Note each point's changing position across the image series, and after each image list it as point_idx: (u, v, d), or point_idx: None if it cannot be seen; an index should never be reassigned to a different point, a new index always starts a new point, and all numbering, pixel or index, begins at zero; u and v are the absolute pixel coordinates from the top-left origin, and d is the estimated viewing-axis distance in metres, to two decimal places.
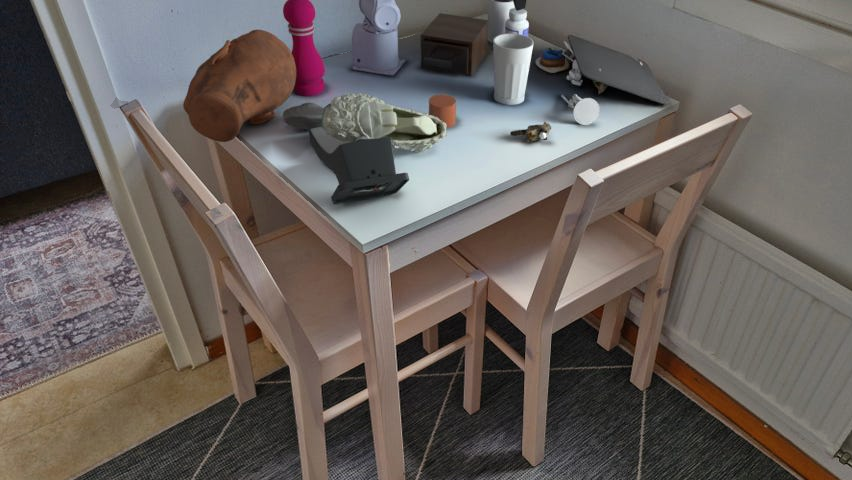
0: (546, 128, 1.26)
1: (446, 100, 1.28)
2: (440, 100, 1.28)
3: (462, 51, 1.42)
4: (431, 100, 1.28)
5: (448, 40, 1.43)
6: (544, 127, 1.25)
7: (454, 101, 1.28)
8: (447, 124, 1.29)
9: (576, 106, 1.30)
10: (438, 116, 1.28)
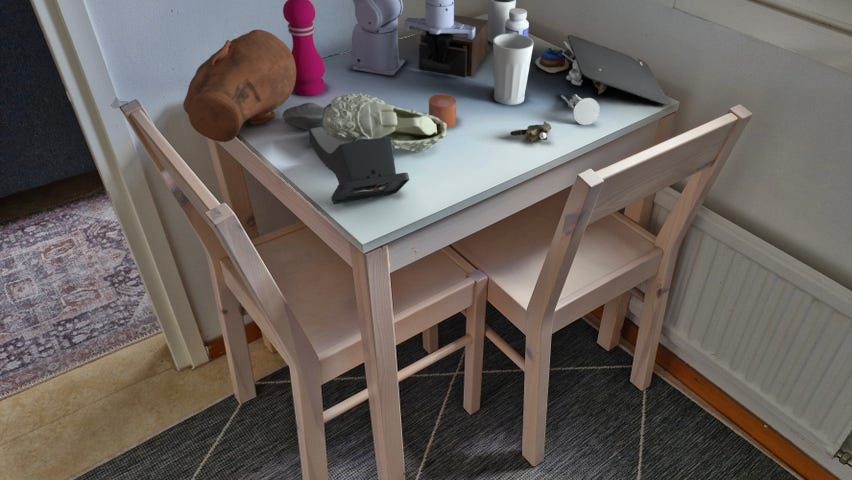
0: (546, 128, 1.26)
1: (446, 100, 1.28)
2: (440, 100, 1.28)
3: (460, 53, 1.41)
4: (431, 100, 1.28)
5: None
6: (544, 127, 1.25)
7: (454, 101, 1.28)
8: (447, 124, 1.29)
9: (576, 106, 1.30)
10: (438, 116, 1.28)
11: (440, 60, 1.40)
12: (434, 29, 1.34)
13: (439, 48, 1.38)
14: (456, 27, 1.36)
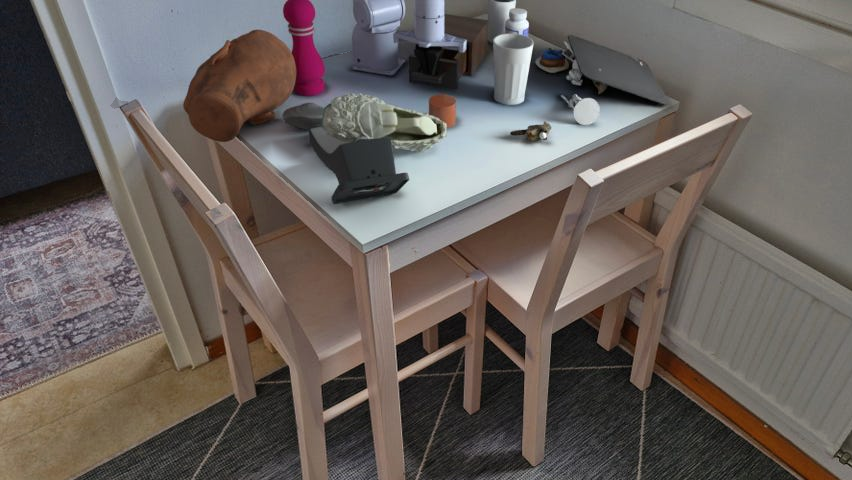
0: (546, 128, 1.26)
1: (446, 100, 1.28)
2: (440, 100, 1.28)
3: (451, 65, 1.37)
4: (431, 100, 1.28)
5: None
6: (544, 127, 1.25)
7: (454, 101, 1.28)
8: (447, 124, 1.29)
9: (576, 106, 1.30)
10: (438, 116, 1.28)
11: (430, 74, 1.35)
12: (424, 42, 1.29)
13: (429, 61, 1.33)
14: (446, 40, 1.31)
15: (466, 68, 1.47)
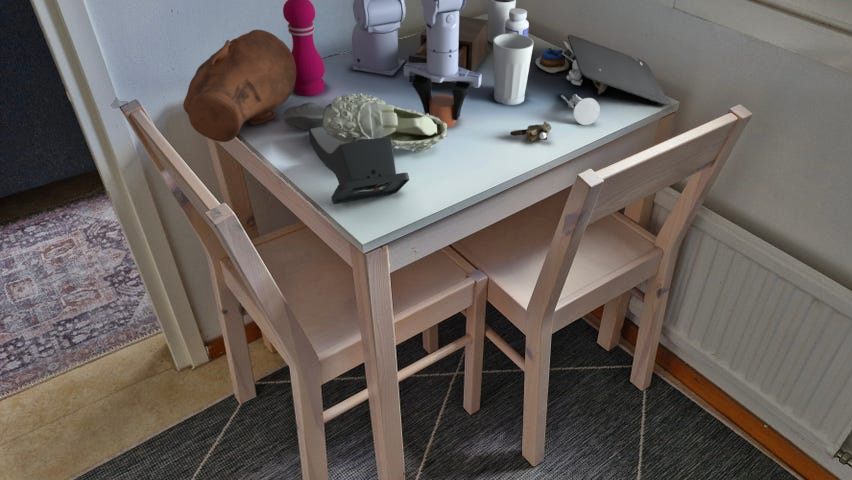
0: (546, 128, 1.26)
1: (446, 100, 1.28)
2: (440, 100, 1.28)
3: None
4: (431, 100, 1.28)
5: None
6: (544, 127, 1.25)
7: None
8: (447, 124, 1.29)
9: (576, 106, 1.30)
10: (438, 116, 1.28)
11: (456, 111, 1.27)
12: (436, 77, 1.22)
13: (455, 98, 1.25)
14: (460, 74, 1.24)
15: (466, 68, 1.47)
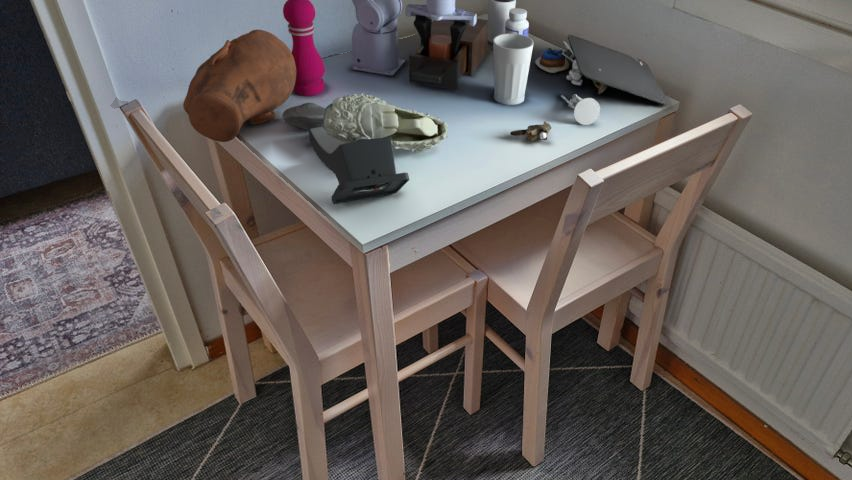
0: (546, 128, 1.26)
1: (444, 39, 1.40)
2: (439, 39, 1.40)
3: (452, 65, 1.37)
4: (431, 39, 1.40)
5: None
6: (544, 127, 1.25)
7: None
8: None
9: (577, 106, 1.30)
10: (437, 54, 1.39)
11: (453, 49, 1.39)
12: (435, 15, 1.33)
13: (452, 36, 1.36)
14: (457, 13, 1.35)
15: (466, 68, 1.47)
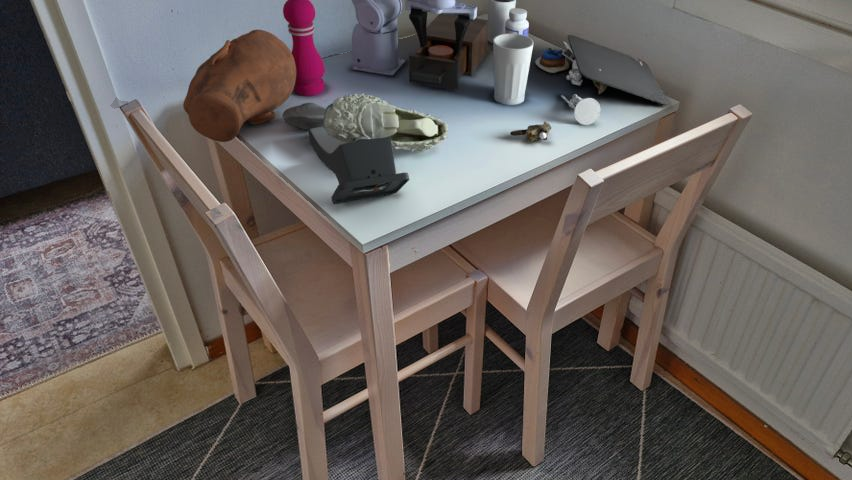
0: (546, 128, 1.26)
1: (444, 49, 1.41)
2: (438, 49, 1.41)
3: (452, 65, 1.37)
4: (430, 50, 1.41)
5: (448, 40, 1.43)
6: (544, 127, 1.25)
7: (451, 50, 1.41)
8: None
9: (577, 106, 1.30)
10: None
11: (458, 43, 1.38)
12: (435, 9, 1.32)
13: (457, 31, 1.35)
14: (458, 7, 1.34)
15: (466, 68, 1.47)
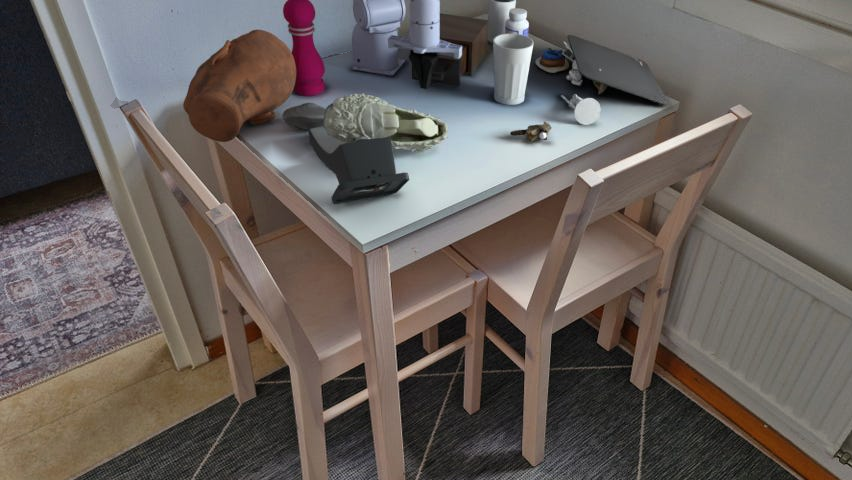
0: (546, 128, 1.26)
1: None
2: None
3: (454, 62, 1.38)
4: None
5: (448, 40, 1.43)
6: (544, 127, 1.25)
7: None
8: None
9: (577, 106, 1.30)
10: None
11: (425, 80, 1.33)
12: (418, 48, 1.27)
13: (424, 67, 1.31)
14: (442, 46, 1.29)
15: None
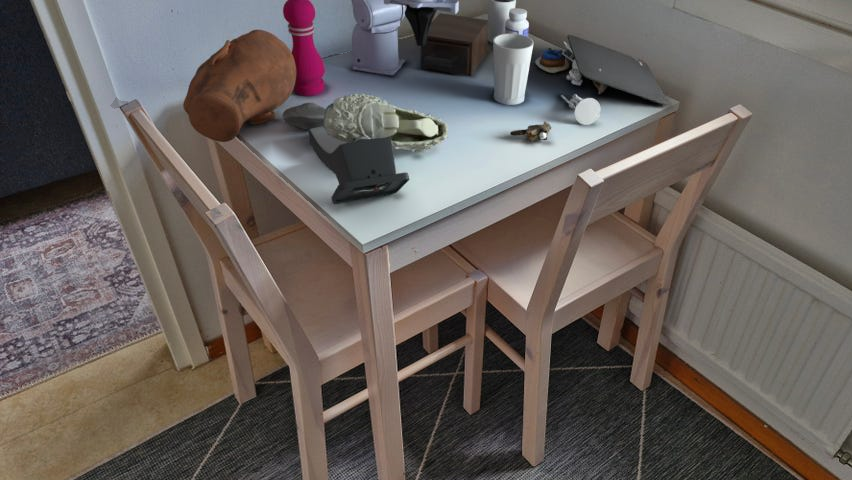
0: (546, 128, 1.26)
1: None
2: None
3: (463, 50, 1.43)
4: None
5: (448, 40, 1.43)
6: (544, 127, 1.25)
7: None
8: None
9: (577, 106, 1.30)
10: None
11: (422, 36, 1.32)
12: (414, 2, 1.26)
13: (420, 23, 1.30)
14: (438, 1, 1.28)
15: None
